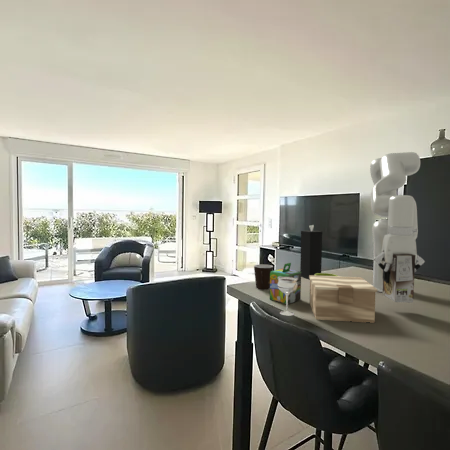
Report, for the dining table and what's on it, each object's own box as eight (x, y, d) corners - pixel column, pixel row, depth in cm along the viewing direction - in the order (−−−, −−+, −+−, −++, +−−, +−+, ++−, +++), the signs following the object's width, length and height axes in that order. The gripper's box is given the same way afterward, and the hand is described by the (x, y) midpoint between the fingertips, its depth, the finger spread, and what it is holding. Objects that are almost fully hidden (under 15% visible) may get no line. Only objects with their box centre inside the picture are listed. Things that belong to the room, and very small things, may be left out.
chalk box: (282, 295, 127) (282, 260, 126) (301, 300, 120) (302, 263, 120) (268, 299, 120) (269, 262, 120) (288, 305, 114) (289, 265, 113)
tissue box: (299, 276, 164) (300, 224, 162) (311, 275, 167) (312, 224, 165) (309, 279, 156) (310, 225, 155) (321, 278, 159) (322, 225, 158)
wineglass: (284, 317, 100) (284, 281, 100) (273, 311, 106) (273, 277, 106) (301, 315, 103) (301, 279, 102) (289, 309, 109) (289, 275, 109)
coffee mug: (260, 284, 145) (260, 263, 145) (276, 287, 140) (276, 266, 139) (246, 289, 136) (246, 267, 136) (262, 292, 131) (262, 269, 130)
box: (309, 303, 116) (310, 277, 115) (359, 306, 113) (360, 279, 112) (315, 319, 99) (316, 289, 98) (374, 322, 96) (375, 291, 96)
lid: (308, 288, 115) (309, 274, 115) (361, 290, 112) (361, 276, 112) (315, 302, 98) (315, 286, 98) (377, 305, 95) (377, 289, 95)
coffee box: (414, 302, 102) (416, 255, 100) (394, 302, 102) (396, 255, 101) (399, 294, 111) (401, 250, 110) (381, 294, 111) (383, 250, 110)
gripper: (422, 230, 107) (419, 280, 108) (369, 230, 110) (368, 278, 111) (433, 233, 99) (430, 286, 101) (376, 232, 102) (374, 284, 104)
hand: (397, 281), depth 106 cm, fingers closed on coffee box, 7 cm apart
